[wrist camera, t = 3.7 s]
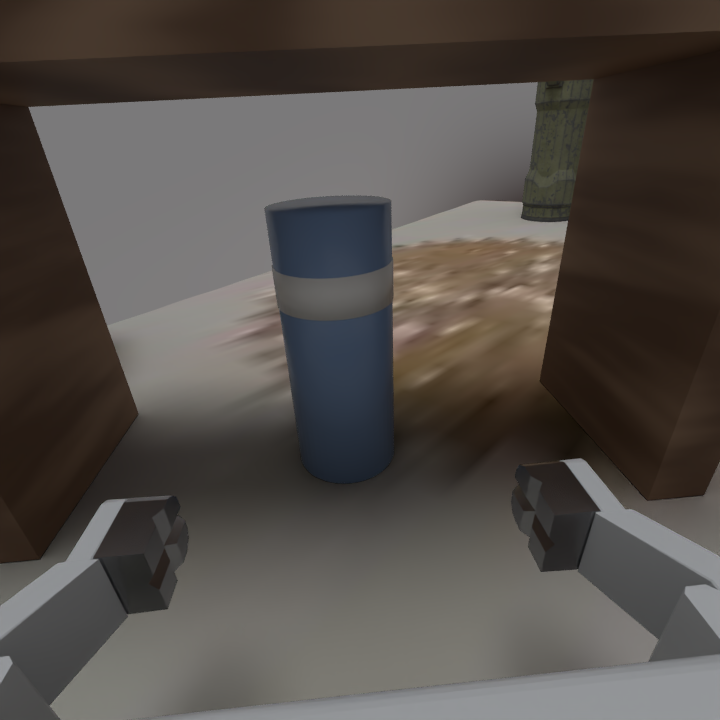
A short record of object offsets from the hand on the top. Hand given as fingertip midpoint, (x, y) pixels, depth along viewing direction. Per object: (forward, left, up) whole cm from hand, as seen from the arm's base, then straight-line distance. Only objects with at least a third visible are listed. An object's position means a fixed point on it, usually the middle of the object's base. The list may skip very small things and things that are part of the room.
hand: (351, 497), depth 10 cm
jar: (0, +10, -7) cm, 12 cm away
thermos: (+39, +69, -7) cm, 79 cm away
